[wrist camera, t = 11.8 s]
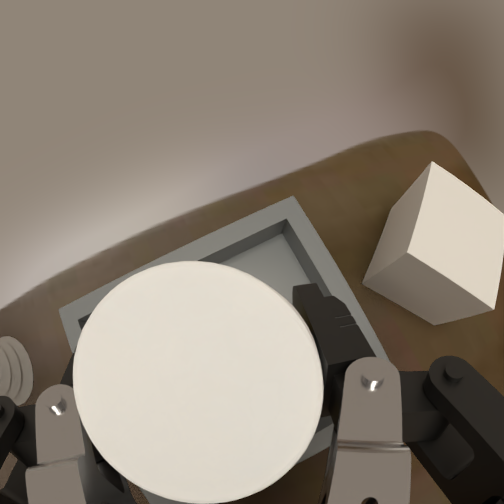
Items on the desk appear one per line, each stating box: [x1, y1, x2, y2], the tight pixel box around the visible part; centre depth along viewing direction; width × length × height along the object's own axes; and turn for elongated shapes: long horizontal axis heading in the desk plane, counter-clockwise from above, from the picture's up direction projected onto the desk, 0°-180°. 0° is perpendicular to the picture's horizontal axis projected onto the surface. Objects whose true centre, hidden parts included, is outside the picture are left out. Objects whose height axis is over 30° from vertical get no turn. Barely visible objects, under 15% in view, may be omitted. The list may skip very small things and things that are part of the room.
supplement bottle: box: [73, 261, 324, 504], centre depth 9 cm, size 5×5×10 cm
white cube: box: [362, 162, 504, 325], centre depth 15 cm, size 6×6×6 cm
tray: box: [58, 196, 390, 504], centre depth 15 cm, size 14×12×3 cm
